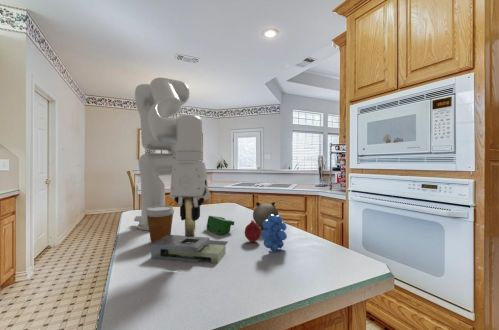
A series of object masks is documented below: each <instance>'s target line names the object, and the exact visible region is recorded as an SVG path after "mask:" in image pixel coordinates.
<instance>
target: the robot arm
mask: <svg viewBox="0 0 499 330" xmlns="http://www.w3.org/2000/svg"><path fill="white" fill-rule="evenodd" d="M189 99H190V88H189V86H188V85H187V83H185V81H181V80H177V79H173V78H169V77H168V78H166V77H155V78H154V79H152V80H151V81H150V83H141V84H139V85H137V86H136V87H135V90H134V101H135V105H136V109H137V111H138V114H139V118H140V136H141V137H140V139H141V146H142V148H143V149H144V150H148V151H165V152H167V153H165V152H157V153H156V152H149V153H147V152H146V153H144V154H142V155H140V157H138V158H139V159H138V160H137V161H138V163H137V164H138V170H139V176H140V196H141V198H140V201H141V203H140V206H141V207H140V210H141V212H140V214H141V216H140V215H136V216H135V217H134V219H133V221H134V222H138V224H137V225H136V226H137V229H138V230H140V231H149V225H148V218H147V214H146V212H147V209H148V208H150V207H154V206H166V194H165V193H166V192H165V191H166V187H165V183H164V182H163V180H162V179H161V178H160V177H159V176H170V177H171V178H170V192H169V194H168V197H169V198H170V199H172V200H174V201H175V202H176V204H177V205H178V207H179V216H180V220H181V221H185V197H193V200H194V207H193V208H192V220H193V221H195V222H196V221H197V220H199V218H200V217H201V206H202V205H203V203H204V202H205V201H207V200H209V199H210V198H212V195H211V192H210V190H209V187H208V184H209V183H208V174H207V168H206V164H205V162H203V120H202V118H201V117H200V116H198V115H193V114H181V115H179V116H178V117H176V118H175V117H173V116H175V115H177V114H178V113H179V112H180V111H181V109H182V106H183V105H184V104H186V103H187V102H188V100H189Z"/></svg>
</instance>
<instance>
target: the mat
mask: <svg viewBox="0 0 499 330" xmlns="http://www.w3.org/2000/svg"><path fill="white" fill-rule="evenodd" d="M228 243H229V241H224V240H213V239H210V242H208V243H207V244H214V245H227V244H228Z"/></svg>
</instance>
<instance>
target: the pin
mask: <svg viewBox="0 0 499 330" xmlns="http://www.w3.org/2000/svg"><path fill="white" fill-rule="evenodd" d="M193 207H194V200H193V197H185V220H184V236H185V237H196V221H193V220H192V208H193Z"/></svg>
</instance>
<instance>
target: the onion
mask: <svg viewBox="0 0 499 330" xmlns="http://www.w3.org/2000/svg"><path fill="white" fill-rule="evenodd" d="M261 232H262V231H261V229H260V227H259V225H258V224H257V223H256V222H255V221H254V219H251V221H250V223H248V224H247V225H246V227H245V229H244V236H245V238H246V239H247V240H248V241H249V242H250V243H252V244H253V243H255V242H257V241H258V240H260V238H261V237H262V236H261Z"/></svg>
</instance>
